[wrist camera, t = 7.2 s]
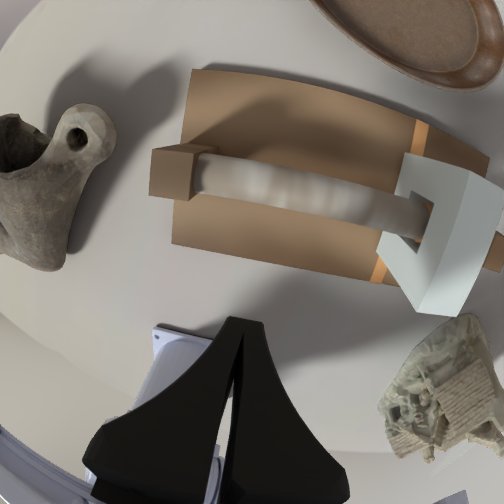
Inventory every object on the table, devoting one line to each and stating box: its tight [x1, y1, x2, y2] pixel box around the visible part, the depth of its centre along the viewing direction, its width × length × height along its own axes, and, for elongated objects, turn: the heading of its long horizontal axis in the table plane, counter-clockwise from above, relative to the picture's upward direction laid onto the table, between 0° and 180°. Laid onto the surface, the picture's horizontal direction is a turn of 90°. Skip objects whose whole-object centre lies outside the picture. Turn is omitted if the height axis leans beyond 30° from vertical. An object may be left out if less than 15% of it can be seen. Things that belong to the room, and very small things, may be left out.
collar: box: [376, 152, 504, 317], centre depth 13 cm, size 7×3×7 cm, turn 171°
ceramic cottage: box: [377, 313, 504, 464], centre depth 19 cm, size 16×16×15 cm
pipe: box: [0, 103, 117, 272], centre depth 16 cm, size 16×9×15 cm
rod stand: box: [149, 69, 504, 287], centre depth 14 cm, size 12×22×6 cm, turn 80°
